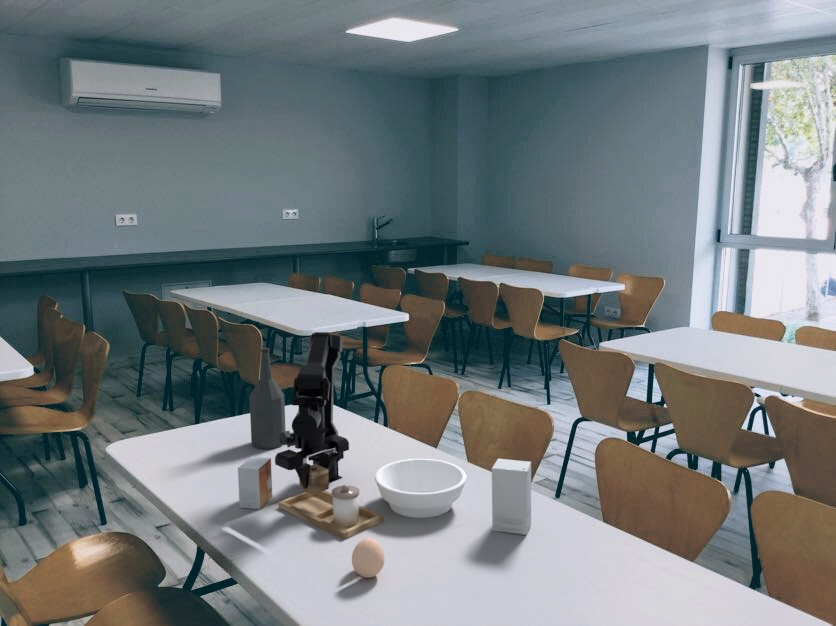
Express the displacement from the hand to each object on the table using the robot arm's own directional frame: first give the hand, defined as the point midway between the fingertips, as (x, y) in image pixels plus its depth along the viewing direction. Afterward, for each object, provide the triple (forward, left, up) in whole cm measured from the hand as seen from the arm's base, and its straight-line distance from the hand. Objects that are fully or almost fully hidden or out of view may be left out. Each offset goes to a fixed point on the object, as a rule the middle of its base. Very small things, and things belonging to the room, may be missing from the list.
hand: (313, 485), depth 179 cm
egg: (+12, +32, -7) cm, 35 cm away
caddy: (0, +6, -6) cm, 9 cm away
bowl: (-19, +18, -7) cm, 27 cm away
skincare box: (-25, +41, -7) cm, 48 cm away
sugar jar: (0, +12, -6) cm, 13 cm away
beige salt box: (0, 0, -1) cm, 1 cm away
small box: (+7, -14, -7) cm, 17 cm away
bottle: (-20, -46, -7) cm, 51 cm away
